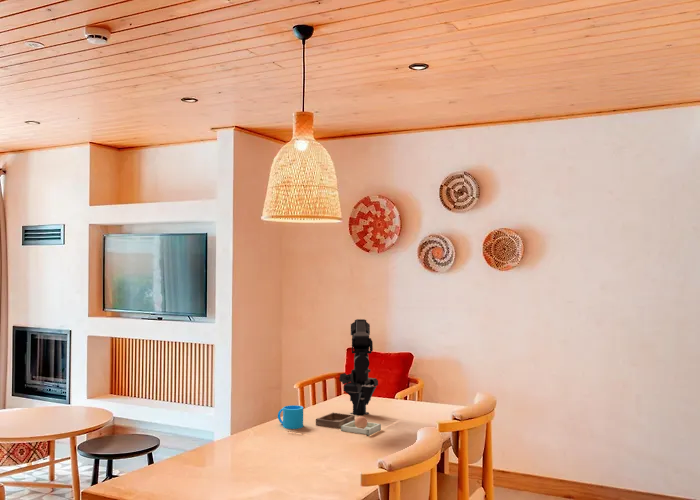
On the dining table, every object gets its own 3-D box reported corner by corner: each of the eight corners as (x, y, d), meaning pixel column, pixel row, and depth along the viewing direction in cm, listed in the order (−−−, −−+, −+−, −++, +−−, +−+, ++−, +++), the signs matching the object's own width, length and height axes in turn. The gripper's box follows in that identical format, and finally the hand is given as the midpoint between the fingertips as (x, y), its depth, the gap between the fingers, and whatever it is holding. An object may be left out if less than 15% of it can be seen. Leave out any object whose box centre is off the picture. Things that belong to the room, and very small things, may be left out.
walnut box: (332, 419, 262) (332, 412, 262) (354, 422, 257) (354, 415, 257) (315, 426, 250) (315, 419, 250) (338, 429, 245) (338, 422, 245)
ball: (358, 427, 246) (358, 414, 247) (369, 428, 244) (369, 415, 244) (352, 429, 242) (352, 416, 242) (363, 431, 240) (363, 418, 240)
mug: (307, 427, 249) (307, 407, 249) (294, 431, 242) (294, 410, 242) (284, 423, 255) (284, 403, 256) (271, 427, 249) (271, 406, 249)
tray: (354, 426, 251) (354, 420, 251) (380, 430, 245) (380, 423, 245) (340, 432, 241) (340, 426, 241) (368, 436, 235) (368, 430, 235)
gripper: (354, 362, 256) (354, 400, 255) (331, 368, 239) (331, 408, 239) (378, 364, 250) (378, 403, 250) (356, 370, 234) (356, 412, 233)
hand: (361, 406), depth 243 cm, fingers open, 9 cm apart
